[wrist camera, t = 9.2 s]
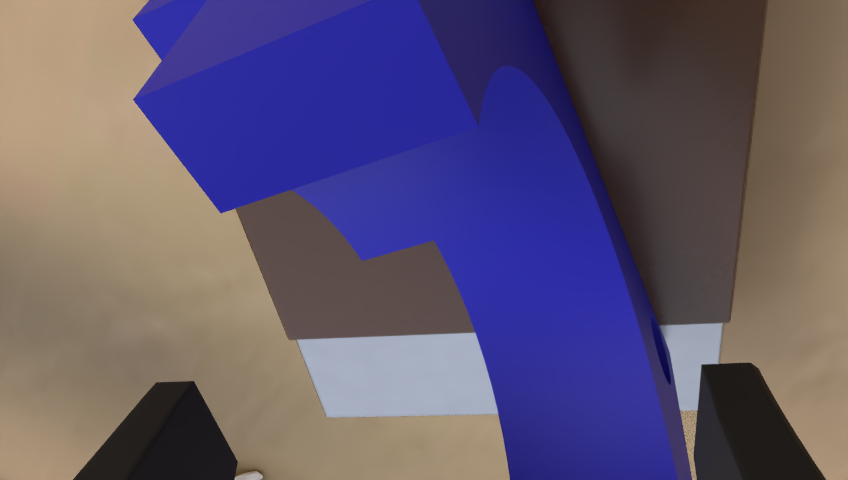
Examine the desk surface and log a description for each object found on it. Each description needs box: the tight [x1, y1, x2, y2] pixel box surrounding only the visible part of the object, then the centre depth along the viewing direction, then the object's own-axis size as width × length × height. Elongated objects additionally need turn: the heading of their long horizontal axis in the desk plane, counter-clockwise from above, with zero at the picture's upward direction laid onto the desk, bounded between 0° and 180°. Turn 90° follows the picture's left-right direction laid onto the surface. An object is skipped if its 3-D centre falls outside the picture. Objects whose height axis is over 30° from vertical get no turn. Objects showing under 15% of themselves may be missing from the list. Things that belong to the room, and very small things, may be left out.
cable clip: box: [133, 0, 692, 480], centre depth 13 cm, size 12×4×6 cm, turn 25°
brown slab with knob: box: [236, 0, 768, 418], centre depth 16 cm, size 10×18×3 cm, turn 10°
